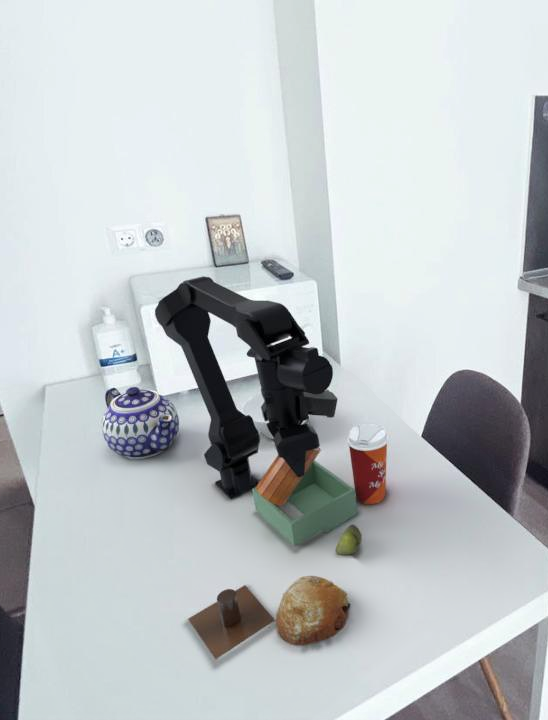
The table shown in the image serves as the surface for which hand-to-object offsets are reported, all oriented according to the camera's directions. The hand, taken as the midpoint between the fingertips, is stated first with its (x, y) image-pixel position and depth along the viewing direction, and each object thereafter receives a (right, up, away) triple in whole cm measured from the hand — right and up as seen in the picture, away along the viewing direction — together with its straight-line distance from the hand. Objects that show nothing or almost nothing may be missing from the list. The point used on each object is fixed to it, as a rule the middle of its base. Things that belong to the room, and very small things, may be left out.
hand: (297, 468), depth 92 cm
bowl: (-11, +2, +35) cm, 37 cm away
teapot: (-40, -1, +29) cm, 49 cm away
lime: (+9, -14, 0) cm, 16 cm away
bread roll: (+5, -19, -13) cm, 24 cm away
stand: (-6, -20, -14) cm, 25 cm away
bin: (0, -10, +8) cm, 13 cm away
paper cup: (+11, -8, +13) cm, 19 cm away
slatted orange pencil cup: (-4, -4, -1) cm, 6 cm away
